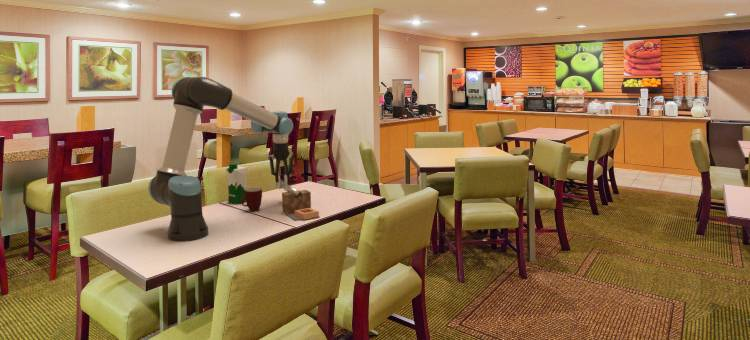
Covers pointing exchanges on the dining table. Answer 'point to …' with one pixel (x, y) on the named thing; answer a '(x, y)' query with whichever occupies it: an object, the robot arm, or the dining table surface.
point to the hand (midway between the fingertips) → (282, 187)
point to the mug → (252, 198)
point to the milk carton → (236, 183)
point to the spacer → (306, 213)
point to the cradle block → (295, 201)
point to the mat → (297, 217)
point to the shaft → (288, 188)
